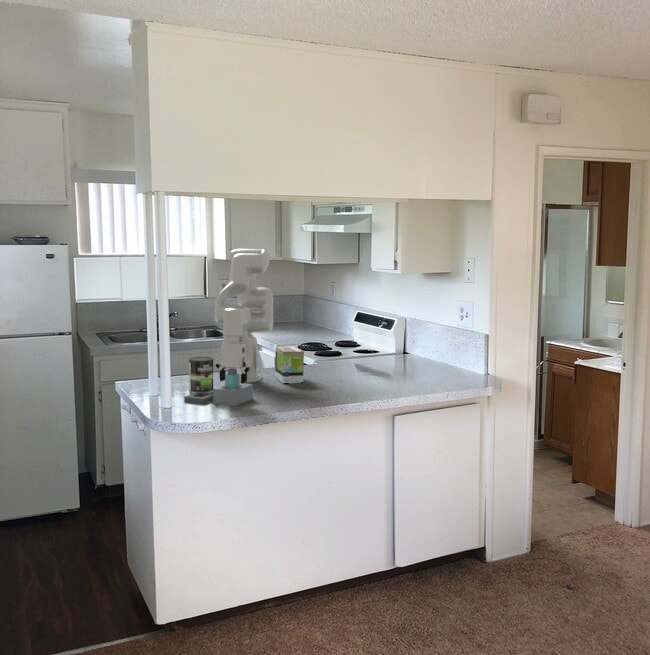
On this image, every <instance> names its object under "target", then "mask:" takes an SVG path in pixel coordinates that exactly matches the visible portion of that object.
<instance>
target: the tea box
mask: <svg viewBox="0 0 650 655" xmlns="http://www.w3.org/2000/svg"><path fill="white" fill-rule="evenodd" d="M274 355H275V356H274V357H275V360H274V361H275V365H274V366H275V367H274V369H275V370H274V373H275V376H274V377H275V378H276V379H277V380H278V381H279V382H281V384H284V383H289V384H302V383H301V382H303V383H304V369H305V366H304V365H305V362H304V361H305V350H303V349H301V348H298V347H297V346H275V354H274Z"/></svg>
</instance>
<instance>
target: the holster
mask: <svg viewBox="0 0 650 655" xmlns="http://www.w3.org/2000/svg"><path fill="white" fill-rule="evenodd" d="M183 398H184V400H183V402H184V403H189V404H195V405H196V404H197V405H206V404H208V403H212V402H213V392H211V393H206V392H196V393H190V394H188V395H185V396H183Z"/></svg>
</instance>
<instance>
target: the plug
mask: <svg viewBox="0 0 650 655" xmlns="http://www.w3.org/2000/svg"><path fill="white" fill-rule="evenodd" d="M224 383H225V388H232V389H235V388H238V387H240V383H241V382H239V373H237V369H236V368H227V374H226V375H225V380H224Z"/></svg>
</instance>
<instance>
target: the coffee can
mask: <svg viewBox="0 0 650 655" xmlns="http://www.w3.org/2000/svg"><path fill="white" fill-rule="evenodd" d="M188 370H189V372H188V375H189V376H188V378H189V380H188V382H189V383H188V384H189V386H188V388H189V389H188V390H189V391H188V392H189V393H190V394H193V393H196V392H206V393H213V388H214V358H213V357H212V356H193V357H189V358H188Z"/></svg>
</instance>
